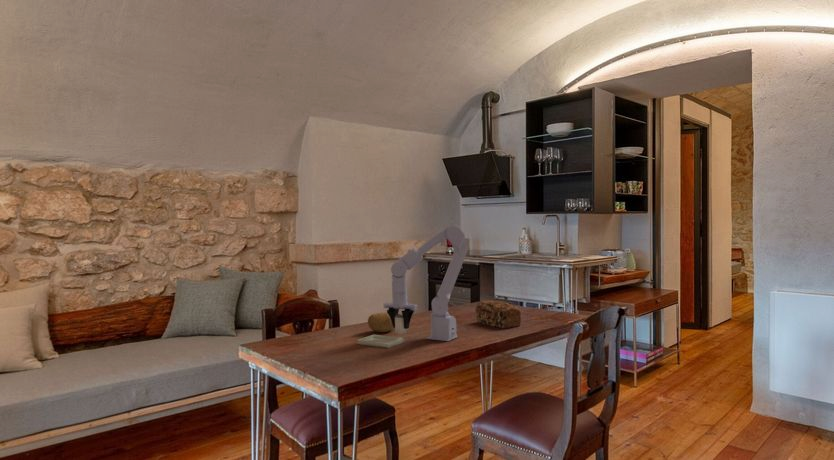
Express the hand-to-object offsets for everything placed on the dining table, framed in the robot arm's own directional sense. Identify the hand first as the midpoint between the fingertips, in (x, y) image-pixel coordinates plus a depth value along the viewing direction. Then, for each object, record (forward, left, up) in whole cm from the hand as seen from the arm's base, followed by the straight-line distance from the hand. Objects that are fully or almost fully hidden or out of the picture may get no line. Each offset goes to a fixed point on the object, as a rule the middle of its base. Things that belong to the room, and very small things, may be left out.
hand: (401, 327), depth 192 cm
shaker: (0, 0, -2) cm, 2 cm away
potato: (+14, -8, -5) cm, 17 cm away
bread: (-22, -42, -5) cm, 48 cm away
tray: (+3, +9, -4) cm, 11 cm away
